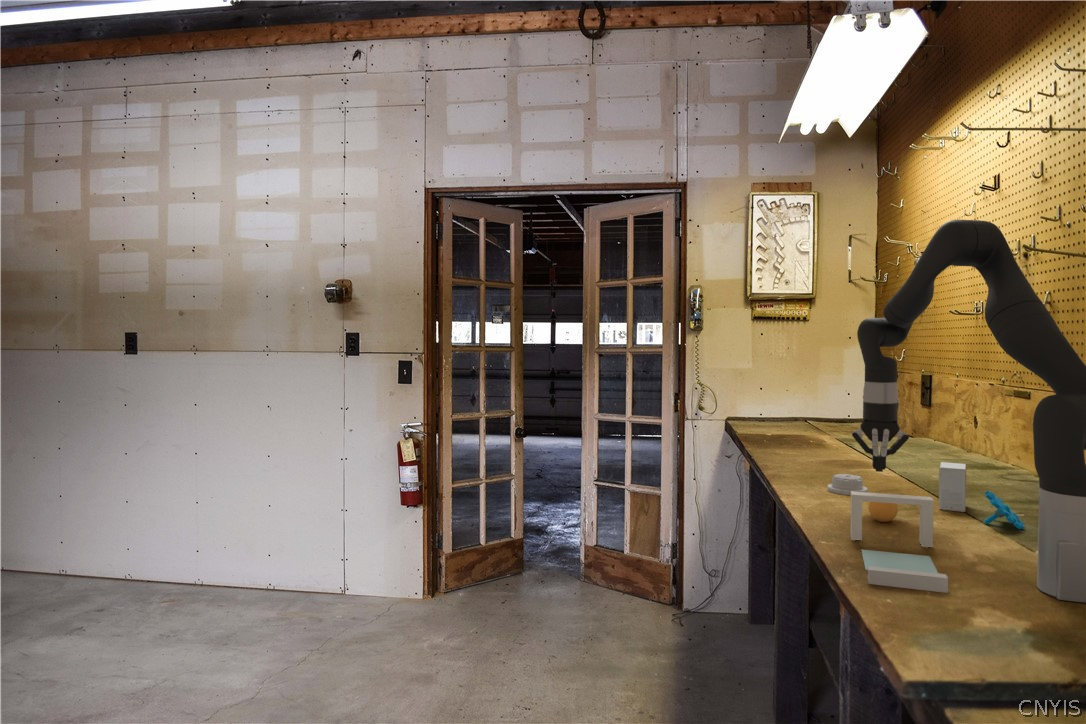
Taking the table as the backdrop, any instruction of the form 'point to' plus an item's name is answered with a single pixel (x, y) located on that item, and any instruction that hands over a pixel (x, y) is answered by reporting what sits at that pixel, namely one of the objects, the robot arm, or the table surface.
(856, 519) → the bridge
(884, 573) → the stopper wall
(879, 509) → the ball
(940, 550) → the table surface
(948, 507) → the small box
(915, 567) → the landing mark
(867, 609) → the table surface
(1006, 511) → the blue branched figurine
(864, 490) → the mechanical component
